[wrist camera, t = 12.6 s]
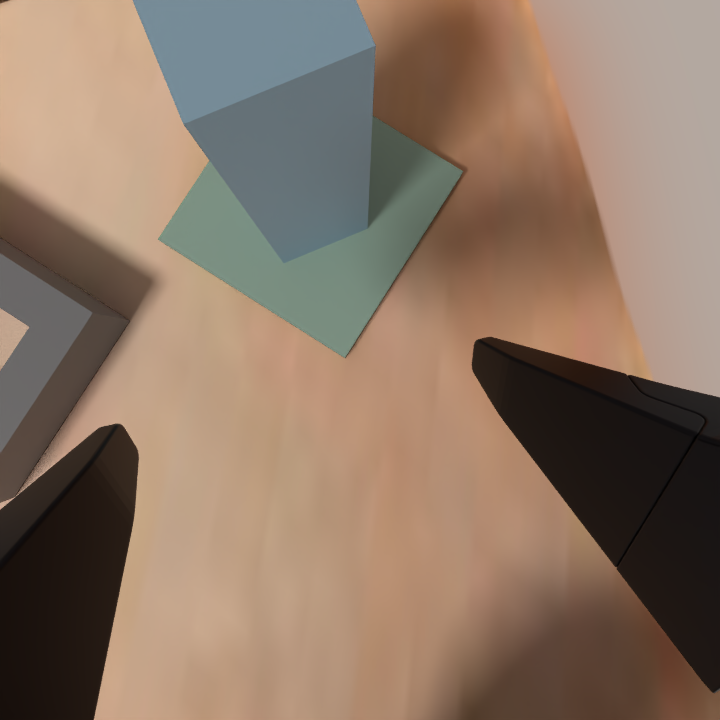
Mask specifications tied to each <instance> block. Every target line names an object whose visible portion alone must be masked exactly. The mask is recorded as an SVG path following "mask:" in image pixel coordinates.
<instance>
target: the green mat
mask: <svg viewBox="0 0 720 720" xmlns="http://www.w3.org/2000/svg"><path fill="white" fill-rule="evenodd" d="M462 173H463V171H462V170H460V169H458V168H457V167H455V166H454V165H452V164H450V163H449V162H447V161H445V160H444V159H442V158H441V157H439V156H437V155H436V154H434V153H432V152H431V151H429V150H428V149H426V148H424V147H423V146H421V145H420V144H418V143H416V142H415V141H413V140H411V139H410V138H408V137H407V136H405V135H403V134H402V133H400V132H398V131H397V130H395V129H394V128H392V127H390V126H389V125H387V124H385V123H384V122H382V121H381V120H379V119H377V118H376V117H374V116H372V138H371V161H370V184H369V207H368V229H366V230H363V231H361V232H358V233H356V234H354V235H351V236H349V237H346V238H344V239H341V240H339V241H337V242H334V243H332V244H329V245H327V246H325V247H322V248H320V249H317V250H315V251H312V252H310V253H308V254H305V255H303V256H300V257H298V258H296V259H293V260H291V261H288V262H286V263H283V262H282V260H281V259H280V258H279V256H278V255H277V253H276V252H275V251H274V249H273V248H272V246H271V245H270V244H269V242H268V241H267V240H266V238H265V237H264V235H263V234H262V233H261V231H260V230H259V228H258V227H257V226H256V224H255V223H254V221H253V220H252V219H251V217H250V216H249V215H248V213H247V212H246V210H245V209H244V208H243V206H242V205H241V203H240V202H239V201H238V199H237V198H236V196H235V195H234V194H233V192H232V191H231V190H230V188H229V187H228V185H227V184H226V183H225V181H224V180H223V178H222V177H221V176H220V174H219V173H218V171H217V170H216V169H215V167H214V166H213V165H212V163H211V162H210V161H209V162H208V164H207V165H206V167H205V168H204V170H203V171H202V173H201V174H200V176H199V178H198V179H197V181H196V182H195V184H194V185H193V187H192V188H191V190H190V191H189V193H188V194H187V196H186V197H185V199H184V200H183V202H182V203H181V205H180V206H179V208H178V210H177V211H176V213H175V214H174V216H173V217H172V219H171V220H170V222H169V223H168V225H167V226H166V228H165V229H164V231H163V232H162V234H161V235H160V237H159V238H158V240H160V241H161V242H163V243H164V244H166V245H167V246H169V247H171V248H172V249H174V250H175V251H177V252H178V253H180V254H182V255H183V256H185V257H186V258H188V259H190V260H191V261H193V262H194V263H196V264H197V265H199V266H201V267H202V268H204V269H205V270H207V271H208V272H210V273H212V274H213V275H215V276H216V277H218V278H220V279H221V280H223V281H224V282H226V283H227V284H229V285H231V286H232V287H234V288H235V289H237V290H238V291H240V292H242V293H243V294H245V295H246V296H248V297H249V298H251V299H253V300H254V301H256V302H257V303H259V304H261V305H262V306H264V307H265V308H267V309H268V310H270V311H272V312H273V313H275V314H276V315H278V316H279V317H281V318H283V319H284V320H286V321H287V322H289V323H291V324H292V325H294V326H295V327H297V328H298V329H300V330H302V331H303V332H305V333H306V334H308V335H309V336H311V337H313V338H314V339H316V340H317V341H319V342H321V343H322V344H324V345H325V346H327V347H328V348H330V349H332V350H333V351H335V352H336V353H338V354H339V355H341V356H343V357H344V358H346V356H347V354H348V353H349V351H350V350H351V348H352V347H353V345H354V343H355V342H356V340H357V339H358V337H359V336H360V334H361V332H362V331H363V329H364V328H365V326H366V325H367V323H368V321H369V320H370V318H371V317H372V315H373V314H374V312H375V310H376V309H377V307H378V306H379V304H380V303H381V301H382V299H383V298H384V296H385V295H386V293H387V292H388V290H389V288H390V287H391V285H392V284H393V282H394V281H395V279H396V277H397V276H398V274H399V273H400V271H401V269H402V268H403V266H404V265H405V263H406V262H407V260H408V258H409V257H410V255H411V254H412V252H413V251H414V249H415V247H416V246H417V244H418V243H419V241H420V240H421V238H422V236H423V235H424V233H425V232H426V230H427V229H428V227H429V225H430V224H431V222H432V221H433V219H434V218H435V216H436V214H437V213H438V211H439V210H440V208H441V207H442V205H443V203H444V202H445V200H446V199H447V197H448V196H449V194H450V192H451V191H452V189H453V188H454V186H455V184H456V183H457V181H458V180H459V178H460V177H461V175H462Z"/></svg>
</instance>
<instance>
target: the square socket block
mask: <svg viewBox="0 0 720 720" xmlns="http://www.w3.org/2000/svg"><path fill="white" fill-rule="evenodd" d="M0 308H1V309H3V310H4V311H6V312H7V313H9V314H10V315H12V316H14V317H15V318H17V319H18V320H20V321H21V322H23V323H24V324H26V325H27V326H29V329H28V330H27V332H26V333H25V335H24V336H23V338H22V339H21V341H20V342H19V344H18V345H17V347H16V348H15V350H14V351H13V353H12V354H11V356H10V357H9V359H8V360H7V362H6V363H5V365H4V366H3V368H2V369H1V371H0V502H3V501H6V500H9V499H11V498H14V497H15V495H16V494H17V492H18V491H19V489H20V488H21V486H22V485H23V483H24V482H25V480H26V479H27V477H28V476H29V474H30V472H31V471H32V469H33V468H34V466H35V465H36V463H37V462H38V460H39V459H40V457H41V456H42V454H43V453H44V451H45V450H46V448H47V447H48V445H49V443H50V442H51V440H52V439H53V437H54V436H55V434H56V433H57V431H58V430H59V428H60V427H61V425H62V424H63V422H64V421H65V419H66V418H67V416H68V414H69V413H70V411H71V410H72V408H73V407H74V405H75V404H76V402H77V401H78V399H79V398H80V396H81V395H82V393H83V392H84V390H85V388H86V387H87V385H88V384H89V382H90V381H91V379H92V378H93V376H94V375H95V373H96V372H97V370H98V369H99V367H100V366H101V364H102V363H103V361H104V359H105V358H106V356H107V355H108V353H109V352H110V350H111V349H112V347H113V346H114V344H115V343H116V341H117V340H118V338H119V337H120V335H121V334H122V332H123V330H124V329H125V327H126V326H127V324H128V323H129V320H128V319H126V318H125V317H123V316H122V315H120V314H118V313H117V312H115V311H114V310H112V309H111V308H109V307H107V306H106V305H104V304H103V303H101V302H100V301H98V300H97V299H95V298H93V297H92V296H90V295H89V294H87V293H86V292H84V291H82V290H81V289H79V288H78V287H76V286H75V285H73V284H72V283H70V282H68V281H67V280H65V279H64V278H62V277H61V276H59V275H57V274H56V273H54V272H53V271H51V270H50V269H48V268H47V267H45V266H43V265H42V264H40V263H39V262H37V261H36V260H34V259H32V258H31V257H29V256H28V255H26V254H25V253H23V252H22V251H20V250H18V249H17V248H15V247H14V246H12V245H11V244H9V243H8V242H6V241H4V240H3V239H1V238H0Z"/></svg>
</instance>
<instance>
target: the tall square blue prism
mask: <svg viewBox="0 0 720 720" xmlns="http://www.w3.org/2000/svg"><path fill="white" fill-rule="evenodd" d="M133 2H134V5H135V7H136V10H137V12H138V15H139V17H140V19H141V22H142V24H143V27H144V29H145V32H146V34H147V37H148V39H149V41H150V44H151V46H152V49H153V51H154V54H155V56H156V58H157V61H158V63H159V66H160V68H161V71H162V73H163V76H164V78H165V80H166V83H167V85H168V88H169V90H170V93H171V95H172V97H173V100H174V102H175V105H176V107H177V110H178V112H179V114H180V117H181V119H182V122H183V124H184V126H185V127H186V128H187V130H188V131H189V133H190V134H191V135H192V137H193V138H194V139H195V141H196V142H197V144H198V145H199V146H200V148H201V149H202V151H203V152H204V153H205V155H206V156H207V158H208V159H209V160H210V162H211V163H212V165H213V166H214V167H215V169H216V170H217V171H218V173H219V174H220V176H221V177H222V178H223V180H224V181H225V183H226V184H227V185H228V187H229V188H230V190H231V191H232V192H233V194H234V195H235V196H236V198H237V199H238V201H239V202H240V203H241V205H242V206H243V208H244V209H245V210H246V212H247V213H248V215H249V216H250V217H251V219H252V220H253V221H254V223H255V224H256V226H257V227H258V228H259V230H260V231H261V233H262V234H263V235H264V237H265V238H266V240H267V241H268V242H269V244H270V245H271V246H272V248H273V249H274V251H275V252H276V253H277V255H278V256H279V258H280V259H281V260H282V262H283V263H286V262H288V261H291V260H293V259H296V258H298V257H300V256H303V255H305V254H308V253H310V252H312V251H315V250H317V249H320V248H322V247H325V246H327V245H329V244H332V243H334V242H337V241H339V240H341V239H344V238H346V237H349V236H351V235H354V234H356V233H358V232H361V231H363V230H366V229H368V207H369V184H370V161H371V138H372V115H373V93H374V70H375V47H376V45H375V43H374V41H373V38H372V36H371V34H370V32H369V29H368V27H367V25H366V22H365V20H364V18H363V15H362V13H361V11H360V8H359V6H358V4H357V1H356V0H133Z"/></svg>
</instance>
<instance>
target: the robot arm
mask: <svg viewBox="0 0 720 720" xmlns="http://www.w3.org/2000/svg"><path fill="white" fill-rule="evenodd" d="M472 370H473V372H474V374H475V376H476V378H477V379H478V381H479V383H480V384H481V386H482V388H483V389H484V391H485V393H486V394H487V396H488V398H489V399H490V401H491V403H492V404H493V406H494V407H495V409H496V411H497V412H498V414H499V415H500V417H501V418H502V419H503V421H504V422H505V423H506V425H507V426H508V427H509V429H510V430H511V431H512V433H513V434H514V435H515V436H516V438H517V439H518V440H519V442H520V443H521V444H522V446H523V447H524V448H525V450H526V451H527V452H528V453H529V455H530V456H531V457H532V459H533V460H534V461H535V463H536V464H537V465H538V467H539V468H540V469H541V470H542V472H543V473H544V474H545V476H546V477H547V478H548V480H549V481H550V482H551V484H552V485H553V486H554V487H555V489H556V490H557V491H558V493H559V494H560V495H561V497H562V498H563V499H564V501H565V502H566V503H567V504H568V506H569V507H570V508H571V510H572V511H573V512H574V514H575V515H576V516H577V518H578V519H579V520H580V521H581V523H582V524H583V525H584V527H585V528H586V529H587V531H588V532H589V533H590V535H591V536H592V537H593V538H594V540H595V541H596V542H597V544H598V545H599V546H600V548H601V549H602V550H603V552H604V553H605V554H606V555H607V557H608V558H609V559H610V561H611V562H612V563H613V565H614V566H615V567H617V570H618V572H619V573H620V574H621V575H622V577H623V578H624V579H625V581H626V582H627V583H628V585H629V586H630V587H631V589H632V590H633V591H634V592H635V594H636V595H637V596H638V598H639V599H640V600H641V602H642V603H643V604H644V606H645V607H646V608H647V609H648V611H649V612H650V613H651V615H652V616H653V617H654V619H655V620H656V621H657V623H658V624H659V625H660V626H661V628H662V629H663V630H664V632H665V633H666V634H667V636H668V637H669V638H670V640H671V641H672V642H673V643H674V645H675V646H676V647H677V649H678V650H679V651H680V653H681V654H682V655H683V657H684V658H685V659H686V660H687V662H688V663H689V664H690V666H691V667H692V668H693V670H694V671H695V672H696V674H697V675H698V676H699V677H700V679H701V680H702V681H703V682H704V684H705V685H706V686H707V687H708V688H709V689H710V690H711V692H713V693H716V692H718V691H720V397H716V396H712V395H707V394H703V393H699V392H694V391H690V390H686V389H681V388H678V387H673V386H669V385H666V384H662V383H658V382H654V381H650V380H646V379H643V378H639V377H636V376H632V375H628V376H627V375H626V374H624V373H621V372H617V371H613V370H610V369H606V368H603V367H599V366H595V365H592V364H588V363H584V362H581V361H577V360H573V359H570V358H566V357H562V356H559V355H555V354H552V353H548V352H544V351H541V350H537V349H533V348H530V347H526V346H522V345H519V344H515V343H511V342H508V341H504V340H501V339H497V338H493V337H486V338H482V339H478V340H476V341H475V343H474V349H473V358H472ZM138 461H139V454H138V450H137V448H136V446H135V444H134V443H133V441H132V439H131V438H130V436H129V434H128V433H127V431H126V429H125V428H124V427H123V426H122V425H121V424H112V425H108V426H104V427H100V428H98V429H97V430H96V431H94V432H93V433H92V434H91V435H90V436H88V437H87V438H86V439H85V440H84V441H82V442H81V443H80V444H79V445H78V446H76V447H75V448H74V449H73V450H72V451H70V452H69V453H68V454H67V455H66V456H64V457H63V458H62V459H61V460H60V461H58V462H57V463H56V464H55V465H54V466H52V467H51V468H50V469H49V470H48V471H46V472H45V473H44V474H43V475H42V476H40V477H39V478H38V479H37V480H36V481H34V482H33V483H32V484H31V485H30V486H28V487H27V488H26V489H25V490H24V491H22V492H21V493H20V494H19V495H18V496H16V497H15V498H14V499H13V500H12V501H10V502H9V503H8V504H7V505H6V506H4V507H3V508H2V509H1V510H0V720H94V716H95V711H96V706H97V701H98V696H99V691H100V686H101V681H102V676H103V671H104V666H105V661H106V656H107V651H108V647H109V642H110V637H111V632H112V627H113V622H114V617H115V612H116V607H117V602H118V597H119V592H120V587H121V582H122V577H123V572H124V567H125V562H126V557H127V552H128V547H129V542H130V537H131V532H132V527H133V521H134V514H135V503H136V489H137V475H138Z"/></svg>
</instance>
